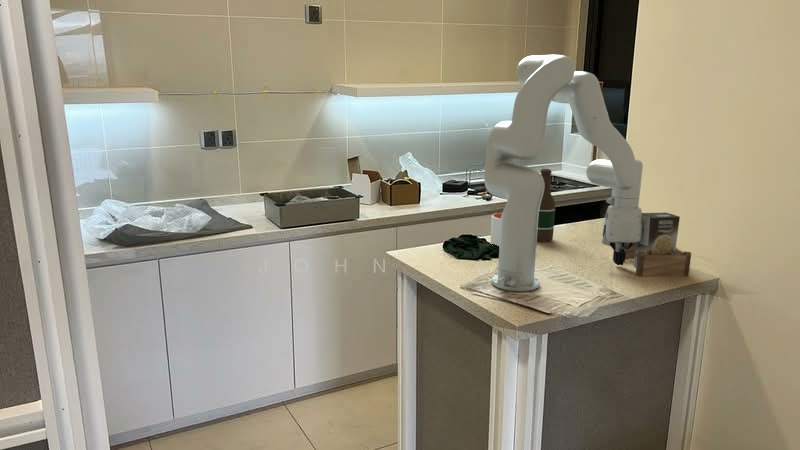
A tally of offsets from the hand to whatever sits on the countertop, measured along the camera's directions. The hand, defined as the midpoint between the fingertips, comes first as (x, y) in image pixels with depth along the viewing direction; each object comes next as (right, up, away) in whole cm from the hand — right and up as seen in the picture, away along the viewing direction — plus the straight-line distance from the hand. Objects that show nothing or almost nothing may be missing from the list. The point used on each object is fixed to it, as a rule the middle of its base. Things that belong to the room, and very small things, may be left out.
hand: (618, 263), depth 185 cm
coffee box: (+10, -1, 0) cm, 10 cm away
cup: (-30, +4, +21) cm, 36 cm away
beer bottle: (-16, +6, +30) cm, 34 cm away
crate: (+9, -1, +1) cm, 9 cm away
